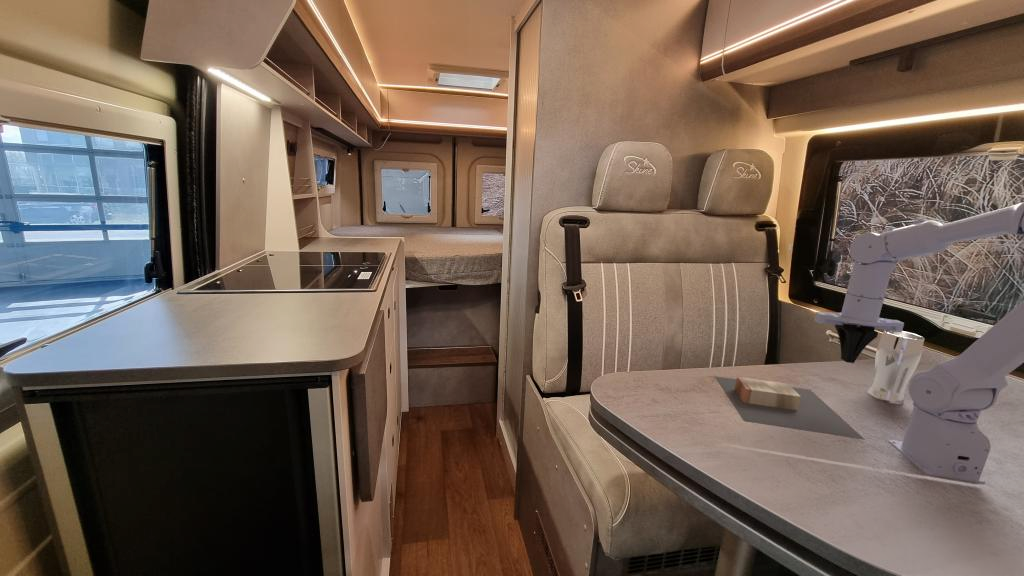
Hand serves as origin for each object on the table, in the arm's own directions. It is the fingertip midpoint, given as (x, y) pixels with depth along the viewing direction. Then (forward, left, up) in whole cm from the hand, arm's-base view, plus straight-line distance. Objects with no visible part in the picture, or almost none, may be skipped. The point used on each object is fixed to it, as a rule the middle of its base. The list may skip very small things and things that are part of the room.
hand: (847, 360), depth 84 cm
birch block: (-2, +9, -8) cm, 13 cm away
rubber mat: (-3, +12, -10) cm, 16 cm away
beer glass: (+9, -14, -11) cm, 20 cm away
